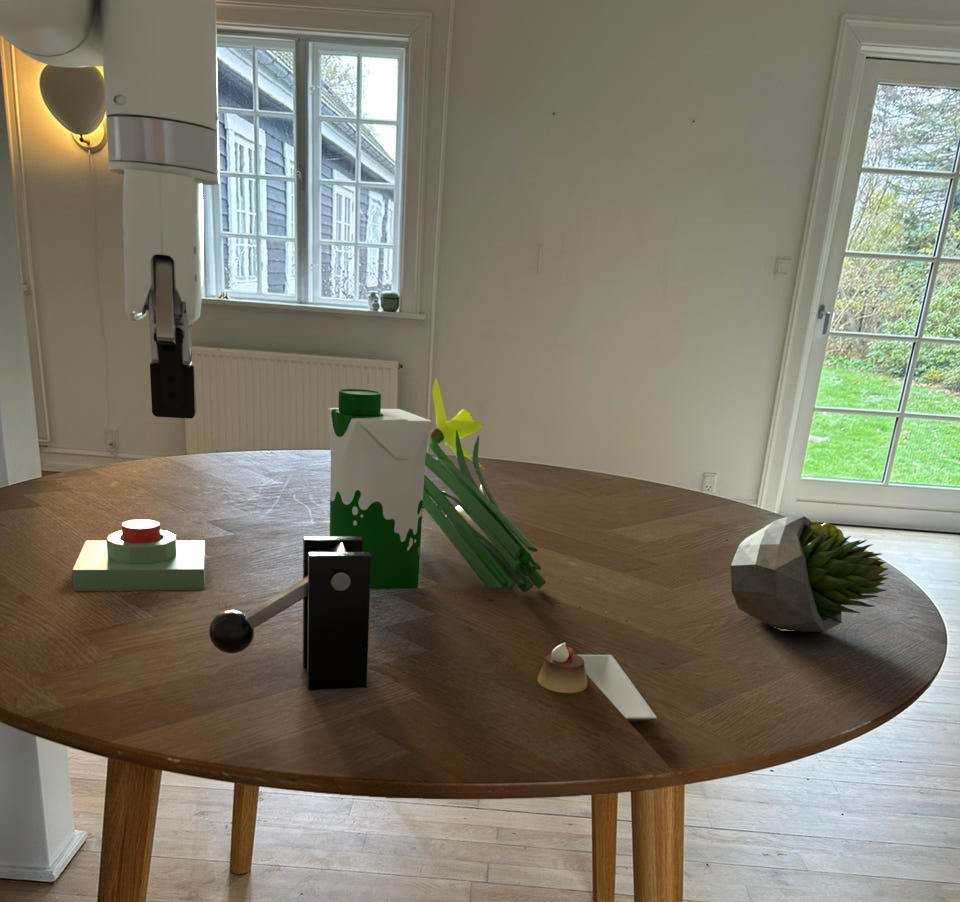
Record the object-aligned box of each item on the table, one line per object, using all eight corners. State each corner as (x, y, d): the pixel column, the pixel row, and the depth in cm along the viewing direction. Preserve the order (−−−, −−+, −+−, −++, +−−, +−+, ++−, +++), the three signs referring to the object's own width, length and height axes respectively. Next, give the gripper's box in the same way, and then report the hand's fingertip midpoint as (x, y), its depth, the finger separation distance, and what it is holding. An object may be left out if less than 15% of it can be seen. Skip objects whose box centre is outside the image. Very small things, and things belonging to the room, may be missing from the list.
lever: (226, 668, 65) (199, 634, 63) (225, 650, 67) (200, 618, 66) (366, 583, 65) (343, 548, 63) (360, 569, 68) (338, 535, 66)
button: (121, 545, 87) (119, 528, 86) (124, 535, 90) (123, 519, 90) (159, 545, 88) (158, 528, 87) (161, 535, 91) (160, 519, 91)
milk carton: (318, 578, 94) (320, 385, 86) (396, 571, 98) (404, 386, 91) (349, 606, 87) (353, 398, 79) (431, 597, 91) (443, 399, 84)
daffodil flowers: (425, 611, 90) (323, 453, 114) (514, 656, 100) (403, 503, 124) (533, 483, 86) (404, 347, 109) (615, 544, 96) (480, 408, 119)
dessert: (610, 666, 78) (617, 615, 76) (655, 731, 67) (665, 674, 65) (476, 664, 76) (481, 613, 74) (501, 731, 65) (507, 672, 63)
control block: (73, 591, 85) (69, 551, 83) (87, 560, 93) (84, 523, 92) (204, 590, 88) (203, 551, 86) (205, 559, 97) (204, 524, 95)
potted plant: (767, 565, 100) (911, 561, 91) (741, 659, 95) (891, 665, 86) (735, 494, 92) (889, 481, 83) (705, 592, 87) (866, 591, 78)
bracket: (257, 720, 64) (254, 565, 59) (252, 669, 72) (250, 528, 67) (419, 712, 67) (428, 564, 63) (398, 663, 75) (405, 529, 71)
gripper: (122, 159, 69) (135, 400, 76) (91, 135, 56) (110, 429, 62) (221, 171, 71) (225, 405, 78) (215, 151, 57) (221, 435, 64)
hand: (174, 415), depth 70 cm, fingers closed
